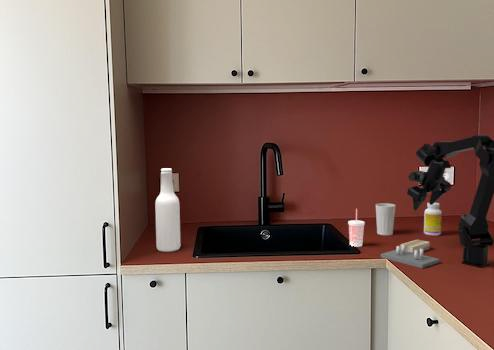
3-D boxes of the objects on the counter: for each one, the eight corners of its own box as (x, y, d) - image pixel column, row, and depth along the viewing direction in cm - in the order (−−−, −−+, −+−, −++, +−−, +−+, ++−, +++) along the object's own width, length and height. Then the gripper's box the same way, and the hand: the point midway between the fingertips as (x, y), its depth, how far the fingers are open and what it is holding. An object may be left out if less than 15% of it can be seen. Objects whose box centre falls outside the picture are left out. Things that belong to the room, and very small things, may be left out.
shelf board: (429, 249, 178) (429, 241, 178) (412, 255, 172) (412, 247, 171) (417, 247, 182) (417, 239, 182) (400, 252, 175) (400, 244, 175)
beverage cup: (367, 245, 184) (368, 209, 182) (355, 248, 180) (356, 210, 179) (356, 242, 189) (356, 206, 187) (344, 244, 186) (344, 208, 184)
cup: (371, 232, 205) (371, 204, 204) (386, 230, 208) (387, 202, 207) (382, 236, 198) (383, 207, 196) (398, 234, 201) (399, 205, 199)
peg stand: (439, 262, 162) (439, 250, 161) (421, 268, 156) (422, 255, 155) (398, 252, 174) (398, 240, 174) (380, 257, 168) (381, 245, 168)
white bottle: (154, 252, 177) (151, 170, 174) (159, 245, 186) (156, 167, 182) (178, 252, 177) (176, 169, 174) (182, 245, 186) (180, 167, 182)
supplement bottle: (442, 236, 197) (443, 205, 196) (425, 235, 198) (426, 204, 197) (439, 232, 204) (440, 202, 202) (422, 231, 205) (423, 201, 203)
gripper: (433, 157, 189) (422, 190, 197) (401, 167, 179) (390, 202, 188) (457, 171, 181) (444, 205, 189) (425, 182, 172) (412, 218, 180)
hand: (422, 207), depth 187 cm, fingers open, 9 cm apart
